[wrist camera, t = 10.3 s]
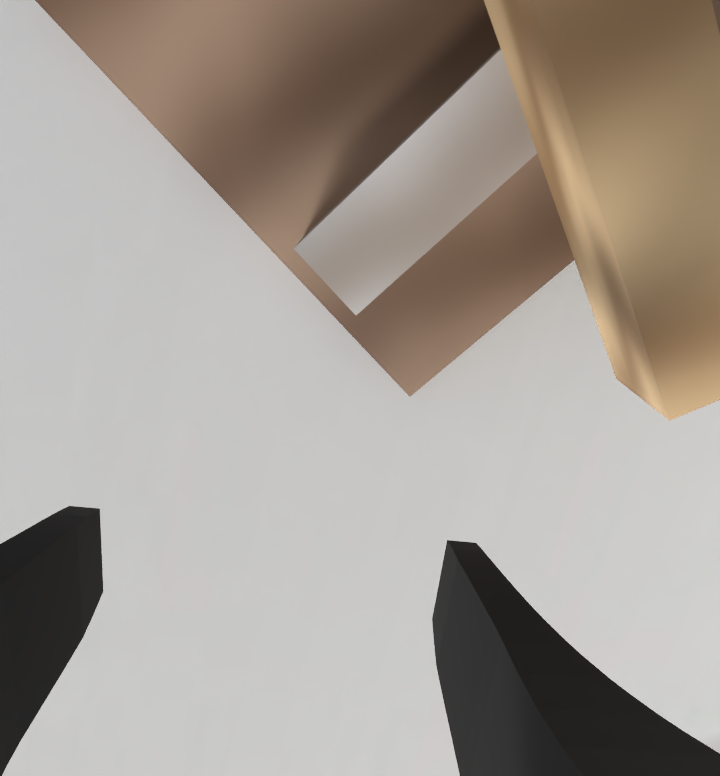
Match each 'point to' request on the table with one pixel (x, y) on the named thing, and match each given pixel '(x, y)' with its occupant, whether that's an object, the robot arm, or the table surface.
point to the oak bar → (632, 174)
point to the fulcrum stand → (352, 152)
